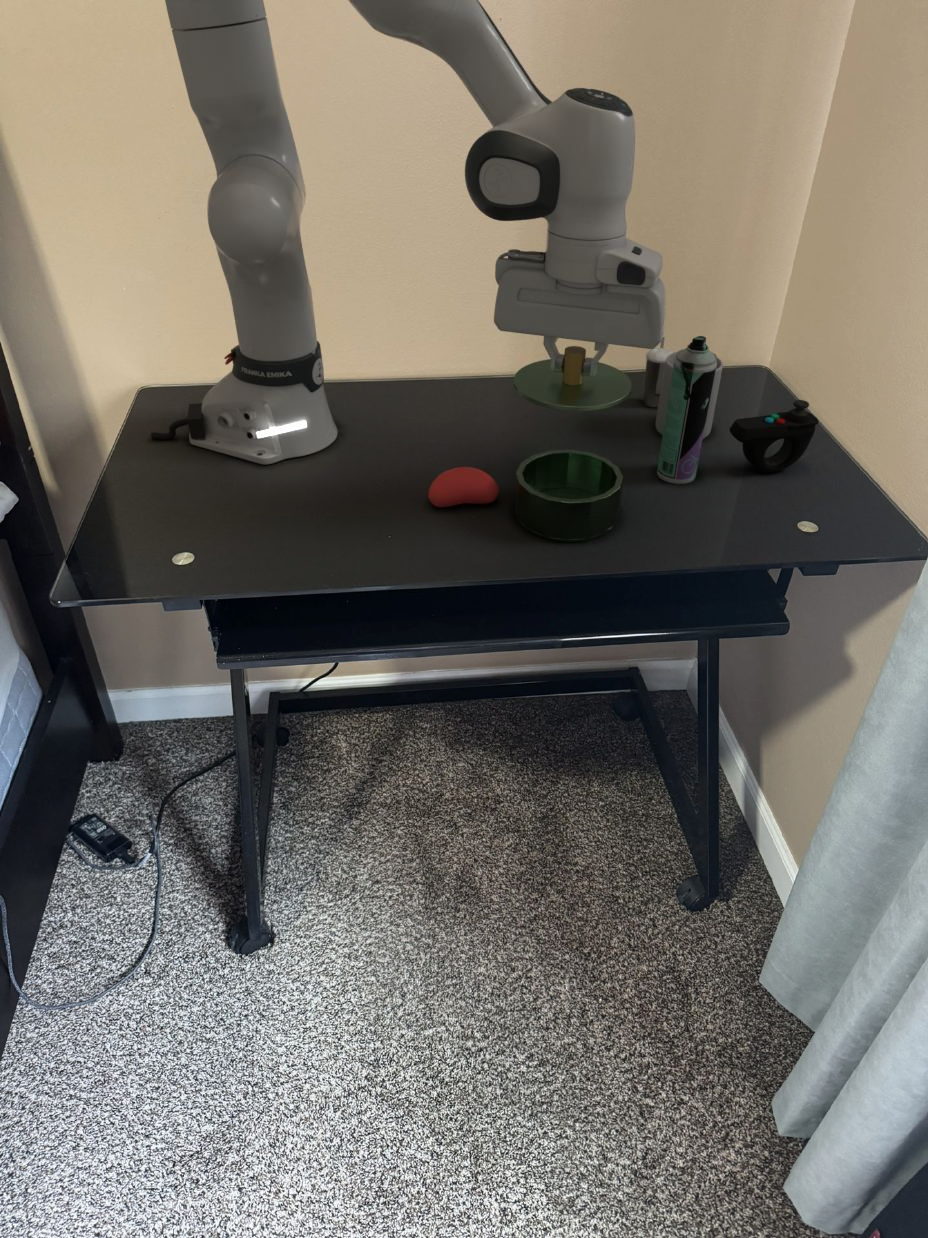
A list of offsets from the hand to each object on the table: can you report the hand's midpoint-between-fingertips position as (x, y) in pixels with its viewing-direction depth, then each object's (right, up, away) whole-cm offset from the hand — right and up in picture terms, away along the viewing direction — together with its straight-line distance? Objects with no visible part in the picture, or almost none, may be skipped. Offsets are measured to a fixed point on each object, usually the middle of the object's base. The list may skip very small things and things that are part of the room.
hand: (573, 372), depth 108 cm
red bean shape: (-14, -15, +12) cm, 23 cm away
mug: (+21, -2, +27) cm, 34 cm away
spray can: (+17, -10, +17) cm, 26 cm away
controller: (+30, -9, +19) cm, 36 cm away
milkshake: (+18, +5, +36) cm, 40 cm away
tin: (0, -16, +9) cm, 19 cm away
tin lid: (0, -1, +1) cm, 2 cm away
